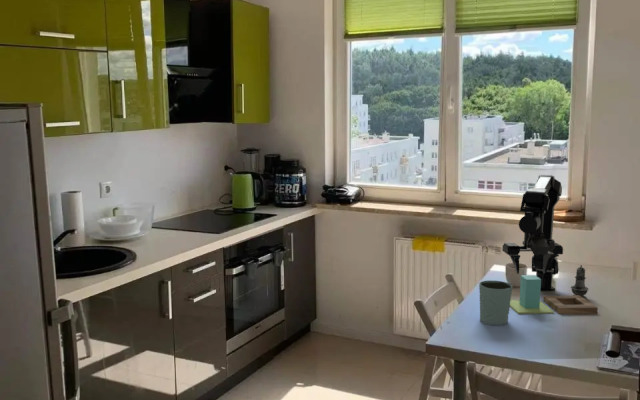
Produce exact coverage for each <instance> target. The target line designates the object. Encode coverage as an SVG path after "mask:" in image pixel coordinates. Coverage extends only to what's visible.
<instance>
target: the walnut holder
mask: <svg viewBox="0 0 640 400" xmlns="http://www.w3.org/2000/svg"><path fill="white" fill-rule="evenodd" d="M542 303H544V304H545V305H546V306H547V307H549V308H550V309H551V310H552V311H554V312H556V313H557V314H558V315H563V314H566V315H567V314H570V315H571V314H573V315H575V314H576V315H577V314H598V311H599V310H598V309H599V308H598V306H596V305H595V304H594V303H592V302H590V301H589V300H588V299H585V298H583V297H582V296H580V295H575V294H573V295H572V294H571V295H566V294H565V295H563V294H562V295H543V298H542Z"/></svg>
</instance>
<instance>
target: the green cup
mask: <svg viewBox="0 0 640 400" xmlns="http://www.w3.org/2000/svg"><path fill="white" fill-rule="evenodd" d="M478 286H479V320H480V322H481V323H483V324H484V325H489V326H493V327H494V326H498V327H499V326H505V325H507V324H508V322H509V313H510V308H511V307H510V301H512V300H511V298H512V292H513V285H512V284H511V283H509V282H505V281H500V280H491V279H490V280H483V281H480V282H479V283H478Z"/></svg>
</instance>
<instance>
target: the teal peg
mask: <svg viewBox="0 0 640 400" xmlns="http://www.w3.org/2000/svg"><path fill="white" fill-rule="evenodd" d="M519 285H520V286H519V287H520V288H519V300H520V301H519V304H520V305H521V306H523V307H524V308H539V307H540V301H541V291H542V290H541V279H540V278H538V277H537V276H536V274H535V275H534V274H528V275H522V274H521V275H520V284H519Z"/></svg>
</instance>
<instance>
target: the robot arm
mask: <svg viewBox="0 0 640 400" xmlns="http://www.w3.org/2000/svg"><path fill="white" fill-rule="evenodd" d="M562 192H563V186H562V183H561V181H559V180H558V179H556V178H555V176H554V175H552V174H551V175H550V174H540V175H538V179H537V180H536V182H535V185H534V186H533V187H532V188H528V189H526V190H525V192H523V195H522V198H521V199H522V200H521V203H520V209H519V212H522V213H524V216H523V217H521V218H520V219H519V221H518V227H519V230H520V231H521V232H522V233H524V234H523V241H522V245H518V244H517V243H515V242H504V243H503V245H502V252H504V253H505V254H506V255H508V256H509V258H510V259H511V262H512V264H513V268H514V271H515V273H516V274H517V275H519V274H520V258H521V255H520V253H521V252H532V255H533V256H532V257H531V272H532V273H536V274H535V275H536V276H537V277H538V278H540V279H541V290H540V291H556V288H555V287H554V286H553V275H554V276H555V275H558V274H559V262H558V259H557V258H558V257H559V256H560V255H564V247H563V246H562V245H561V244H559V243H557V242H555V239H553V232H554V231H553V229H554V216H555V207H556V206H557V204H558V202H559V201H560V198H561V196H562V194H563V193H562Z"/></svg>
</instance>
